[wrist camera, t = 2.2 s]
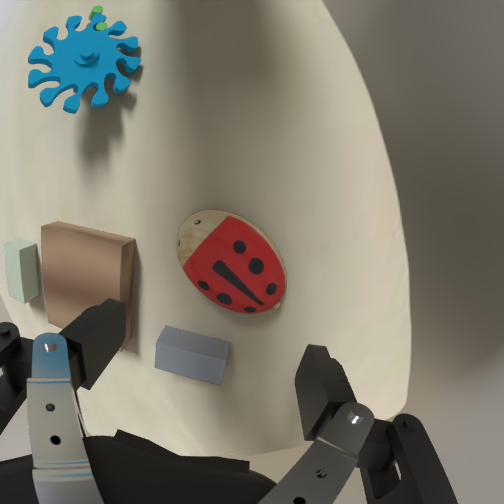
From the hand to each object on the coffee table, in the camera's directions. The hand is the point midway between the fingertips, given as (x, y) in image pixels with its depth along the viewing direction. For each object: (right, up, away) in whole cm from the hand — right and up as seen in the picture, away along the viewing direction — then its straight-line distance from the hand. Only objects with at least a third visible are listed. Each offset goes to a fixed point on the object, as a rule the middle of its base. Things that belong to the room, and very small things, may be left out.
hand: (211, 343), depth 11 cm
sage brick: (-23, +2, +11) cm, 26 cm away
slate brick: (-4, -5, +13) cm, 14 cm away
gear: (-11, +21, +6) cm, 24 cm away
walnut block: (-13, +1, +12) cm, 18 cm away
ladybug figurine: (0, +3, +11) cm, 12 cm away
